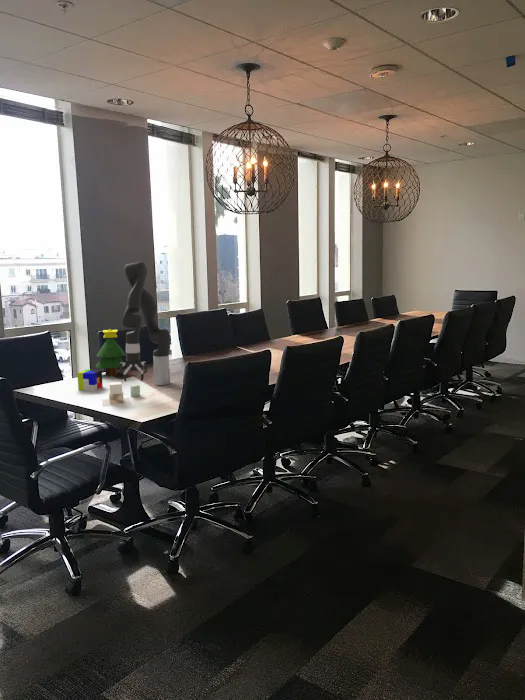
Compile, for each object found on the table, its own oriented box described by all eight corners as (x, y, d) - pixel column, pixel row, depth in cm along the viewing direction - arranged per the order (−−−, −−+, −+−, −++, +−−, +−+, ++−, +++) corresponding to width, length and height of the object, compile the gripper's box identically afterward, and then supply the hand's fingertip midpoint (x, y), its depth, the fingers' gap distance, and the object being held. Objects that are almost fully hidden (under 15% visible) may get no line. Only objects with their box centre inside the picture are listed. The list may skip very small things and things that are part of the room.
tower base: (122, 399, 315) (122, 390, 314) (123, 403, 308) (123, 393, 307) (109, 400, 313) (108, 391, 312) (109, 404, 306) (109, 394, 305)
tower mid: (121, 391, 313) (121, 381, 312) (122, 393, 307) (121, 384, 307) (109, 391, 311) (109, 382, 311) (110, 394, 306) (109, 384, 305)
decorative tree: (95, 378, 368) (93, 330, 363) (96, 372, 387) (94, 326, 382) (127, 377, 372) (125, 329, 367) (126, 371, 391) (125, 326, 386)
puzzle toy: (94, 390, 337) (93, 373, 335) (78, 390, 339) (77, 372, 337) (102, 386, 347) (101, 370, 345) (86, 386, 349) (85, 369, 347)
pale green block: (139, 395, 326) (139, 384, 325) (140, 397, 321) (140, 386, 320) (130, 396, 325) (130, 385, 324) (131, 398, 320) (130, 387, 319)
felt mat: (129, 398, 319) (129, 397, 319) (131, 405, 306) (131, 404, 306) (102, 400, 315) (102, 399, 315) (102, 407, 302) (102, 406, 302)
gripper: (145, 350, 324) (146, 379, 327) (119, 350, 321) (119, 380, 323) (146, 352, 317) (147, 381, 320) (119, 353, 314) (120, 383, 316)
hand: (133, 380), depth 322 cm, fingers open, 8 cm apart
